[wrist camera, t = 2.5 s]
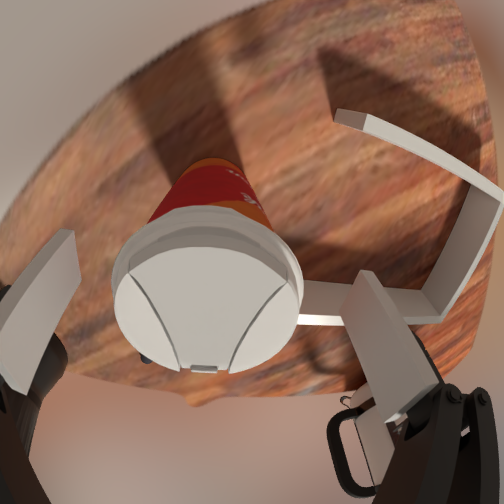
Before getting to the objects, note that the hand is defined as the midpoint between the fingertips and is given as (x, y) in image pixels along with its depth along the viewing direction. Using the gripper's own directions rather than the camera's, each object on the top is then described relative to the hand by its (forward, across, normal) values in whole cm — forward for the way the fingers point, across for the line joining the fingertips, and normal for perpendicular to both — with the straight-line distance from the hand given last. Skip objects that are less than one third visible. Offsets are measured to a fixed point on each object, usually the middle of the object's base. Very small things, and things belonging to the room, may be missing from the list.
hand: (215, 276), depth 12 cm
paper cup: (+12, 0, 0) cm, 12 cm away
